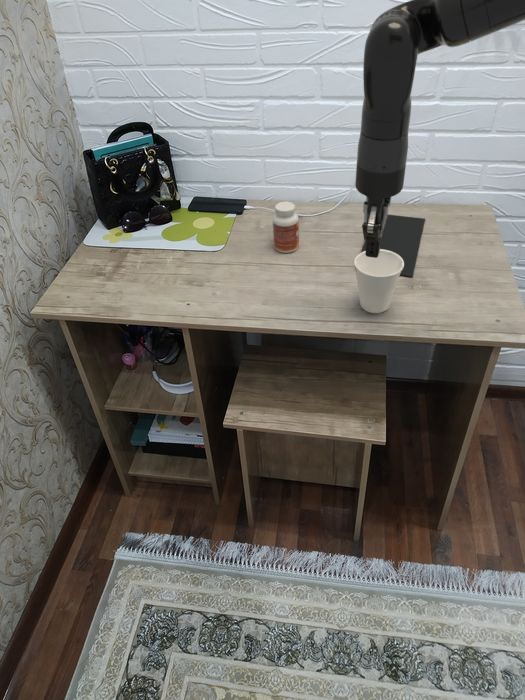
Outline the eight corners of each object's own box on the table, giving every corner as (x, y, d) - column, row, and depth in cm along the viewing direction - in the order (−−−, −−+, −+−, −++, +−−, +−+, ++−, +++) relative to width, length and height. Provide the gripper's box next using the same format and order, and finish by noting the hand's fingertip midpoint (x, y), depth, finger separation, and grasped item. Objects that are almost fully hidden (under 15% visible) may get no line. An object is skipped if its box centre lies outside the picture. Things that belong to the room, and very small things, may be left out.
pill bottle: (302, 251, 139) (302, 210, 131) (278, 255, 138) (276, 214, 130) (294, 238, 143) (293, 197, 136) (270, 242, 142) (268, 202, 135)
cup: (400, 320, 118) (407, 276, 110) (352, 320, 119) (355, 276, 111) (395, 291, 125) (401, 248, 118) (350, 291, 126) (352, 248, 118)
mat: (412, 277, 128) (412, 276, 128) (355, 269, 132) (355, 268, 132) (425, 219, 146) (425, 218, 146) (374, 214, 150) (374, 213, 150)
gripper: (400, 181, 83) (388, 279, 94) (411, 144, 92) (399, 237, 103) (348, 176, 84) (343, 273, 96) (365, 140, 94) (358, 232, 105)
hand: (372, 254), depth 100 cm, fingers closed
